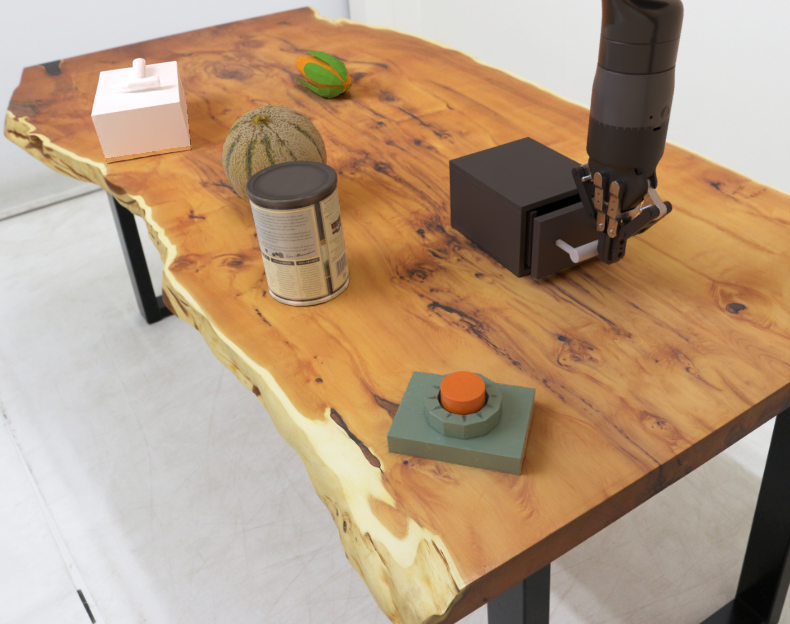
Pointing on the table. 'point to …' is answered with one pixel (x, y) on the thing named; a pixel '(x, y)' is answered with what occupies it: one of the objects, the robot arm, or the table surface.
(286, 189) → the coffee can
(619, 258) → the robot arm
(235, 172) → the cantaloupe
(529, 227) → the dark drawer
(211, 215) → the table surface
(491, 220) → the small drawer cabinet
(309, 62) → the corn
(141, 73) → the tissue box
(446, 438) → the control block
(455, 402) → the button
